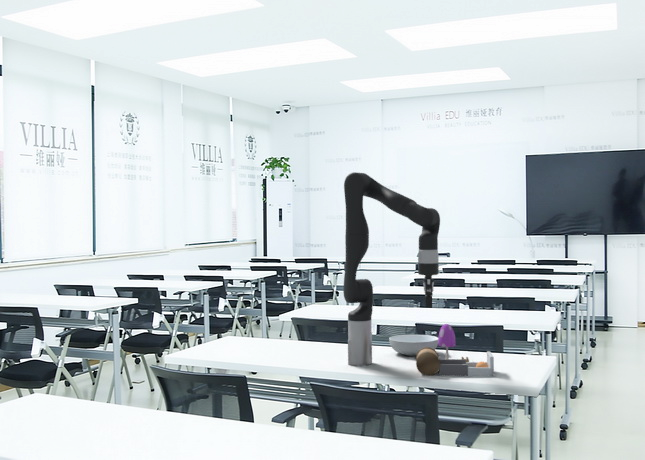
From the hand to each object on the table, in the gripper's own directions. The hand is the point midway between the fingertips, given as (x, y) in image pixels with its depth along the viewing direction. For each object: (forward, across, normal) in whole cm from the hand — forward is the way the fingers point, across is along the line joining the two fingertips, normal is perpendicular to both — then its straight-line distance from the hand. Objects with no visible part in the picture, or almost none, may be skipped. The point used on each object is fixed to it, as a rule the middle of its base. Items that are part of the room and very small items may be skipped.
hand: (428, 305), depth 237 cm
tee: (+24, +4, -14) cm, 28 cm away
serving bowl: (+25, +32, +6) cm, 41 cm away
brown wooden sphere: (+24, -3, 0) cm, 25 cm away
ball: (+22, -4, -19) cm, 29 cm away
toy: (+25, +16, -7) cm, 30 cm away
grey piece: (+24, -3, -13) cm, 28 cm away
